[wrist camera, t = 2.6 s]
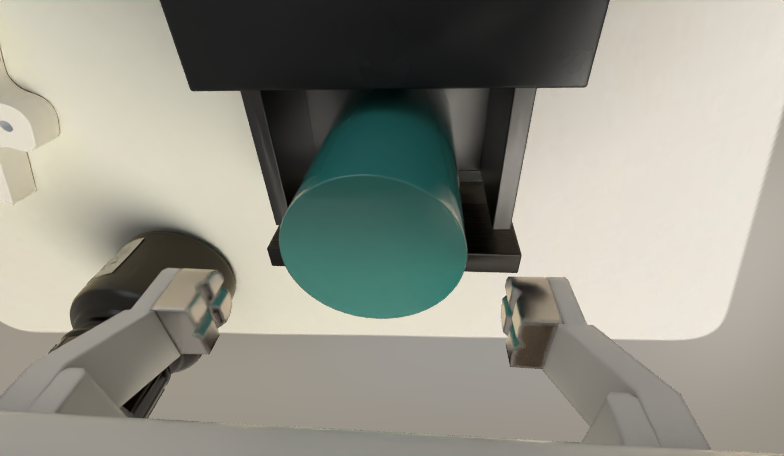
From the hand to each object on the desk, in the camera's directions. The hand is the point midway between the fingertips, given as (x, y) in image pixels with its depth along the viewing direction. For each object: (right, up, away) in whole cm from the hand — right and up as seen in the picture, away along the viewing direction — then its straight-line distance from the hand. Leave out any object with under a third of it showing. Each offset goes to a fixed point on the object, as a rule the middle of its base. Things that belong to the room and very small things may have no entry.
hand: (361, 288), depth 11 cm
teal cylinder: (+1, +7, +10) cm, 12 cm away
